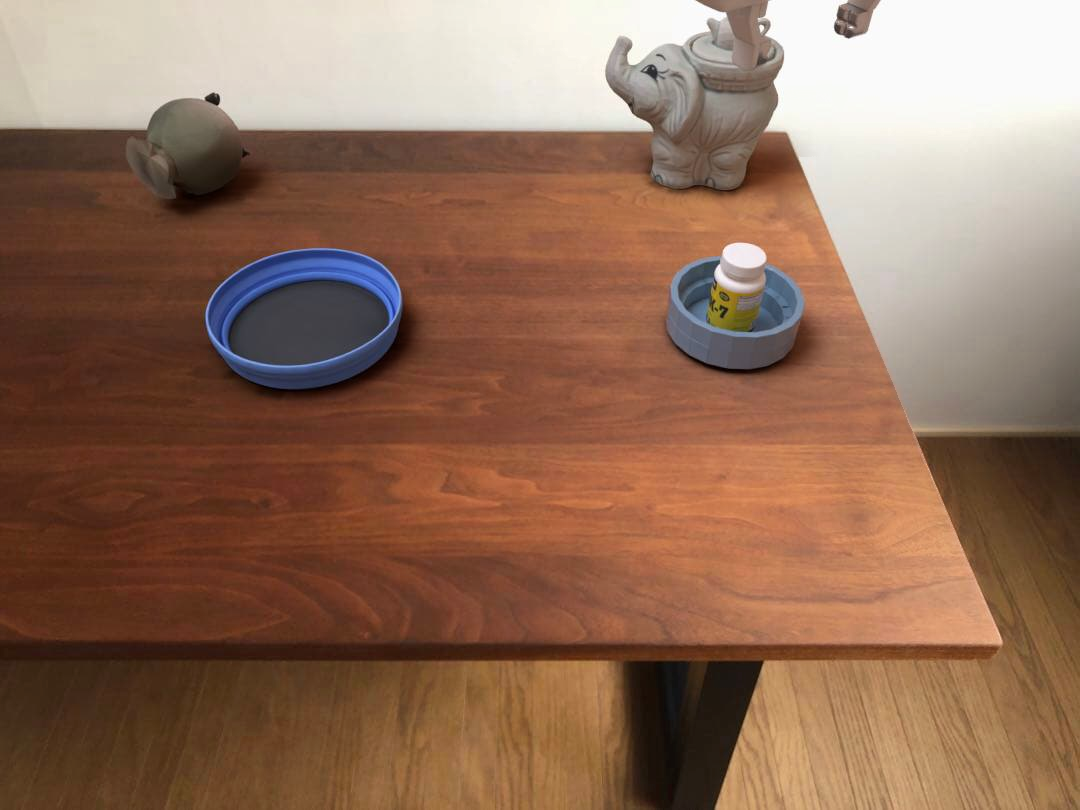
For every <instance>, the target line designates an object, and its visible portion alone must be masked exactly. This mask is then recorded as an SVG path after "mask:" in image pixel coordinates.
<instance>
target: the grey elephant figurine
mask: <svg viewBox="0 0 1080 810" xmlns="http://www.w3.org/2000/svg"><path fill="white" fill-rule="evenodd" d="M758 22H759V27H760V26H763V29H762V31H760V32H761V36H763V37H766V38H768V39H770V40H771V45H770V50H769V52H768V54H767V56H768V60H767V63H766V64H765V65H764V66H761V67H758V68H755V69H751V70H748V71H745V70H743V69H741V68H739V67H737V66H735V65H734V63H733V62H732V52H733V46H734V40H735V36H734V35H733V32H732V29H731V26H730V23H729V21H728V18H727V16H725V17H723V18H722V19H721V20H717V19H715V18H714V17H709V18H707V20H706V25H707V27H708V29H709V31H704V32H699V33H696V34H693V35H691V36H690V37H688V38H687V39H686V40H685V42H684V43H683V45H679V44H677V43H664V44H661V45H659V46H657V47H655V48H654V49H653V50H651V51H650V52H649V53H648V54H647V55H646V56H645V57H644V58H643V59H642V60H641V61H640V62H638V63H637V64H630V63H629V61H628V54H629V52H630V51H631V49H632V48H633V45H634V44H633V41H632V39H630V38H629V37H627V36H623V35H618V37H616V41H615V43H614V45H613V47H612V49H611V51H610V53H609V56H608V59H607V61H606V65H605V68H604V76H605V80H606V83H607V84H608V86H609V88H610V89H611V90H612V92H613V93H614V94H615V95H616V96H618V97H619V98H620V99H621V100H623V101H624V103H626V105H627V106H628V109H629V110H630V112H631V114H632V115H633V116H634V117H636V118H637V119H640V120H642V121H644V122H646V123H648V124H649V125H650V126H651V128H652V132H653V133H652V139H651V143H650V147H651V154H652V160H653V163H652V167H651V171H650V177H651V178H652V180H653V181H655V182H656V183H658V184H659V185H661V186H663V187H666V188H670V189H675V190H681V189H682V190H684V189H688V188H690V187H693V186H706V187H708V188H712V189H716V190H720V191H731V190H734V189H737V188H738V187H740V186H741V185H742V183H743V182H744V179H745V176H746V172H747V166H748V165H747V164H748V161H749V160H750V157H751V156H752V155H753V153H754V150H755V149H756V146H757V143H758V141H759V138H760V137H761V136H762V135H763V134H764V132H765V130H767V127H768V126H769V124H770V122H771V120H772V117H773V116H774V114H775V113H774V112H775V111H776V109H777V108H778V105H779V93H778V90H777V88H776V86H775V83H774V81H775V79H777V78H778V76H779V74H780V71H781V70H782V68H783V65H784V62H785V50H784V47H783V46H782V45H781V44H780V43H779V42H778V41H777V40H775V39H774V38H772V37H771V36H767V35H766V34H768V32H769V31H770V28H771V26H772V24H771V21H770V19H768V18H765V17H762V18H758Z"/></svg>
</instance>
